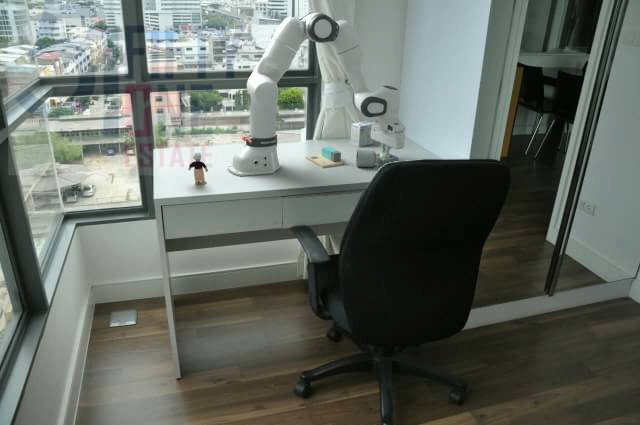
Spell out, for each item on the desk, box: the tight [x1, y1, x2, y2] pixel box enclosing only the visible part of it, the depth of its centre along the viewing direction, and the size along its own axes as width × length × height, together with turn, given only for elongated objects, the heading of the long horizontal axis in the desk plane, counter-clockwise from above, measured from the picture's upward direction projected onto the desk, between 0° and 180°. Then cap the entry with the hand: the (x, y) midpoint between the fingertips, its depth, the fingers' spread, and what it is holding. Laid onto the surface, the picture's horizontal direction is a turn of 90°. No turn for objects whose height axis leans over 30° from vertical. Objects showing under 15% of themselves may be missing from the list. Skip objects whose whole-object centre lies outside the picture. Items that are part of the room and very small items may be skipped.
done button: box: [379, 151, 391, 159], centre depth 229 cm, size 5×5×4 cm
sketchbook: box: [305, 153, 345, 169], centre depth 228 cm, size 11×15×1 cm
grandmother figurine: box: [187, 151, 209, 186], centre depth 196 cm, size 8×4×13 cm, turn 99°
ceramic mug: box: [355, 148, 377, 168], centre depth 224 cm, size 11×8×8 cm
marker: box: [321, 145, 342, 162], centre depth 229 cm, size 10×4×4 cm, turn 31°
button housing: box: [375, 152, 400, 167], centre depth 229 cm, size 9×9×3 cm
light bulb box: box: [350, 120, 375, 148], centre depth 254 cm, size 11×7×11 cm, turn 130°
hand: (385, 153), depth 228 cm, fingers closed, pressing on done button
